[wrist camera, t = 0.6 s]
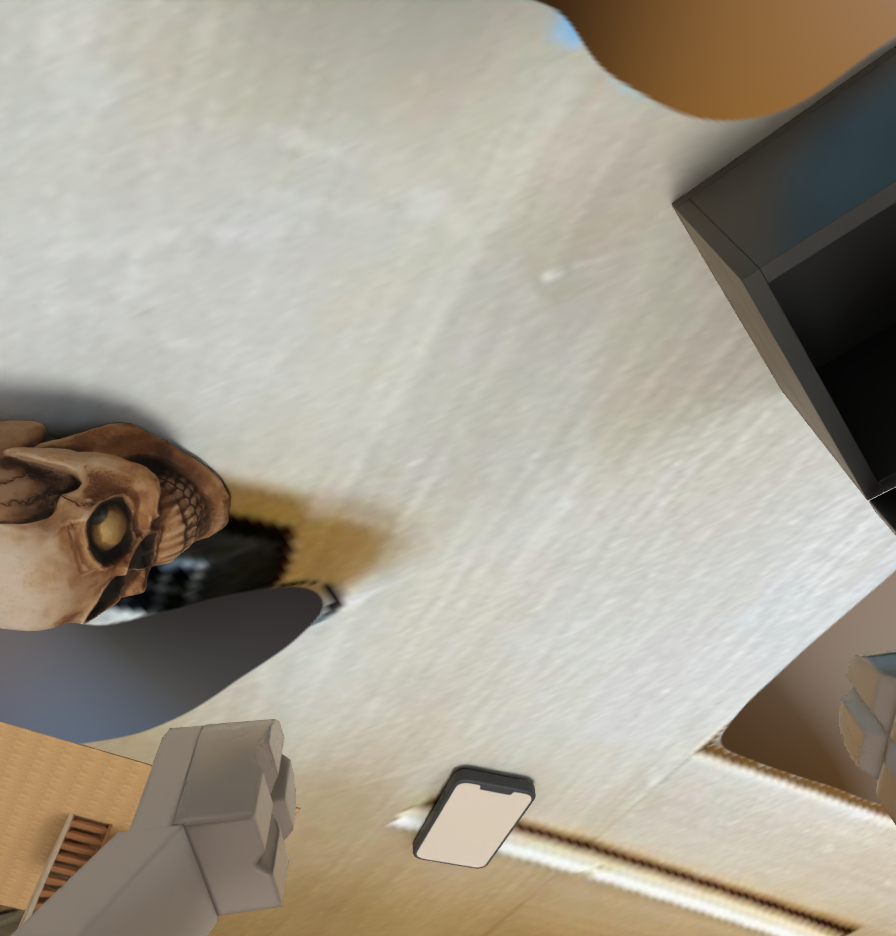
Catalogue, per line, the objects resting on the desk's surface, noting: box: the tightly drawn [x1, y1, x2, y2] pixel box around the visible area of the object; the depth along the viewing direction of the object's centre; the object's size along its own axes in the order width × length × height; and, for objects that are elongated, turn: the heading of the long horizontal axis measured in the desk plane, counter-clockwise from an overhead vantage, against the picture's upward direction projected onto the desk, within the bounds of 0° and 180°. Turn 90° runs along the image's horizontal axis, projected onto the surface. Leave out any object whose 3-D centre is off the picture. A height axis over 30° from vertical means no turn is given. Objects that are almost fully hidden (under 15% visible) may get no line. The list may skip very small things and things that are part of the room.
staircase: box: [18, 814, 113, 928], centre depth 76 cm, size 9×11×17 cm
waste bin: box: [672, 46, 896, 500], centre depth 40 cm, size 16×14×12 cm
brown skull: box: [0, 420, 230, 631], centre depth 50 cm, size 16×17×13 cm
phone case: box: [413, 769, 535, 868], centre depth 79 cm, size 9×2×16 cm
